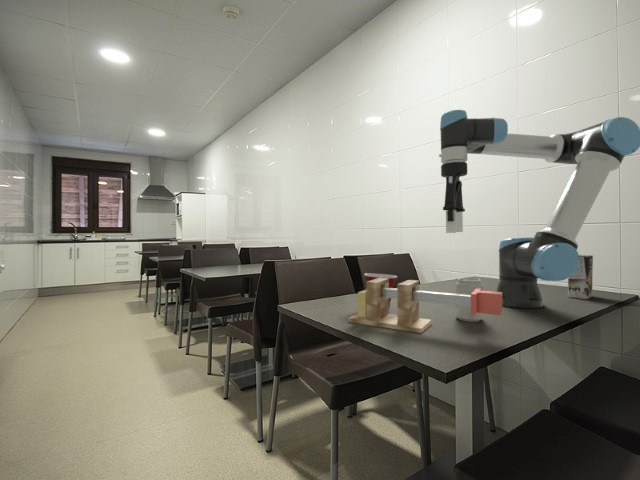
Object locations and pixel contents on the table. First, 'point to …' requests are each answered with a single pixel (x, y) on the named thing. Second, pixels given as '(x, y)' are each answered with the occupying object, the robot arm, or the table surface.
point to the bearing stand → (380, 307)
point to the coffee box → (582, 279)
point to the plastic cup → (374, 276)
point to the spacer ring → (362, 304)
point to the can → (467, 288)
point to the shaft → (457, 299)
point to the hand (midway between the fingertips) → (454, 232)
